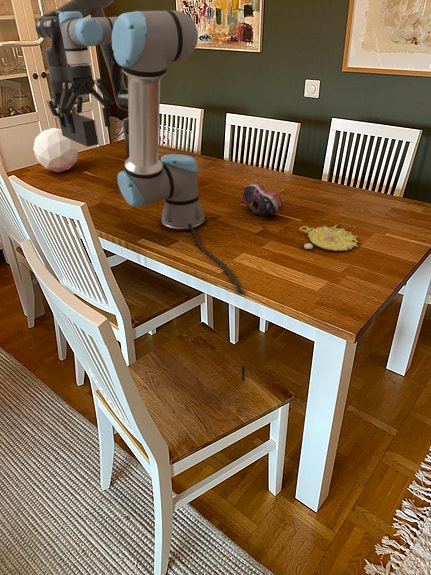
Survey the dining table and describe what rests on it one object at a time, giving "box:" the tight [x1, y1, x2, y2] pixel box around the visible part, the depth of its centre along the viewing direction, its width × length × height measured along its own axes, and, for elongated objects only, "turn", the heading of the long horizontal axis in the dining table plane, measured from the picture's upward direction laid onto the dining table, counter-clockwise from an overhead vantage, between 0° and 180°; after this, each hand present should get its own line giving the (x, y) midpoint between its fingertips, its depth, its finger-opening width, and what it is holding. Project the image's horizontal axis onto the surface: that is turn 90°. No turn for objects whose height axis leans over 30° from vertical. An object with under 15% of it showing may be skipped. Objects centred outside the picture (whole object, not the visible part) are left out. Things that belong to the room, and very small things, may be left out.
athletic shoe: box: [238, 182, 284, 217], centre depth 160 cm, size 11×22×12 cm
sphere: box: [32, 127, 79, 173], centre depth 205 cm, size 19×20×20 cm
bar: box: [59, 111, 99, 148], centre depth 170 cm, size 23×5×9 cm, turn 39°
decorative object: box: [299, 224, 359, 252], centre depth 141 cm, size 21×2×20 cm
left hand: (70, 125), depth 175 cm, fingers closed on bar, 4 cm apart
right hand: (90, 129), depth 161 cm, fingers open, 13 cm apart
